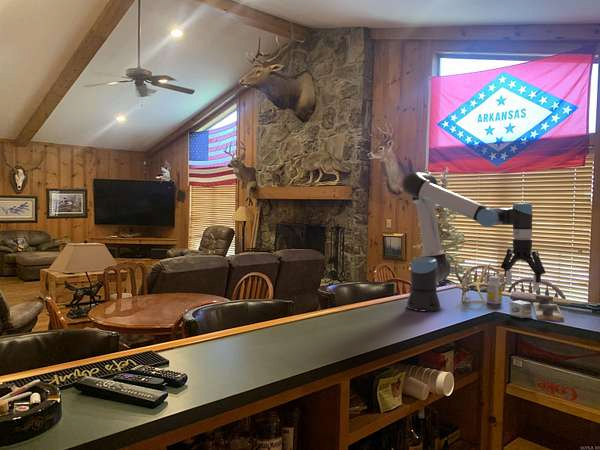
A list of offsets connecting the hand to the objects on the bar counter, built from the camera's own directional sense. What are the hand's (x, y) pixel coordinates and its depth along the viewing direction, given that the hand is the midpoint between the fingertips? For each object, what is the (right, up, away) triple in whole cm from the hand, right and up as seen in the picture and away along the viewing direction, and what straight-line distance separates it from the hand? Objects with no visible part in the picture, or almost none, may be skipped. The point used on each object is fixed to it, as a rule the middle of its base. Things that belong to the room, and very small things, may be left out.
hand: (522, 287), depth 196 cm
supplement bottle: (-1, -11, +25) cm, 28 cm away
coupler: (0, -13, +1) cm, 13 cm away
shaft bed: (+14, -12, +5) cm, 19 cm away
